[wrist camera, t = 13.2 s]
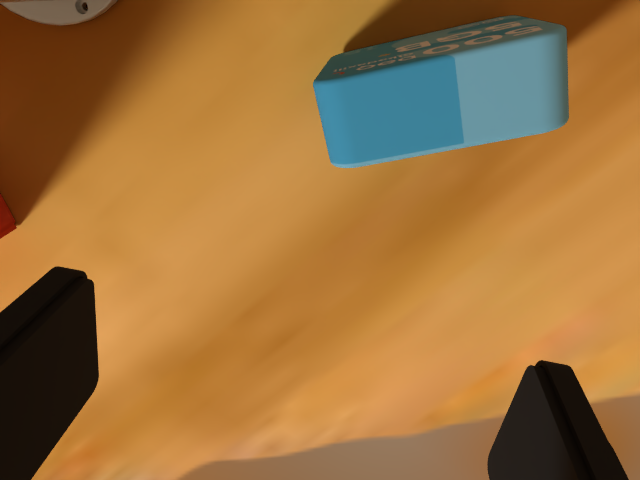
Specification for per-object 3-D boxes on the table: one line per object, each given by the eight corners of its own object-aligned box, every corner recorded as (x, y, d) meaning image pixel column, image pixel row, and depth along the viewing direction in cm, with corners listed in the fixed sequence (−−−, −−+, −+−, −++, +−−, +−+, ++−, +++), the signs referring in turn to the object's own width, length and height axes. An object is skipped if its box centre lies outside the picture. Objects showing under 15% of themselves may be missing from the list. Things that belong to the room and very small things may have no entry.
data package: (513, 13, 33) (577, 25, 22) (518, 84, 35) (579, 127, 24) (330, 55, 35) (307, 84, 24) (343, 120, 37) (328, 174, 26)
